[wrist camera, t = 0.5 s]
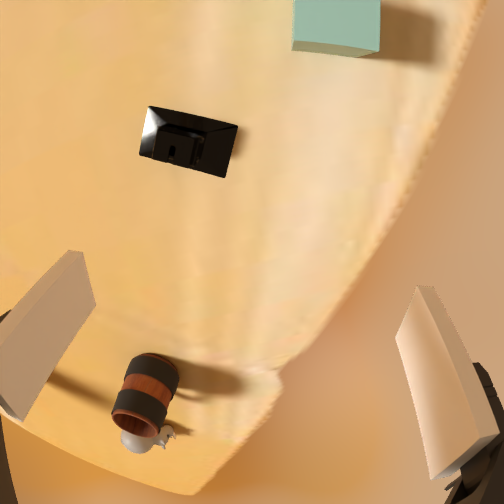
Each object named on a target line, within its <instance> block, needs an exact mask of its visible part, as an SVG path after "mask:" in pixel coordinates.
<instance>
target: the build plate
mask: <svg viewBox="0 0 504 504" xmlns="http://www.w3.org/2000/svg"><path fill="white" fill-rule="evenodd" d="M237 129H238V126H237V125H234V124H230V123H226V122H222V121H218V120H214V119H210V118H206V117H202V116H197V115H193V114H188V113H184V112H179V111H174V110H169V109H164V108H159V107H154V106H149V107H148V111H147V116H146V120H145V125H144V130H143V135H142V140H141V146H140V151H139V155H140V156H144V157H148V158H152V159H153V160H157V161H161V162H165V163H167V162H168V163H171V164H173V165H177V166H181V167H185V168H190V169H193V170H197V171H201V172H204V173H208V174H211V175H215V176H218V177H222V178H225V177H226V173H227V169H228V164H229V160H230V156H231V153H232V149H233V145H234V141H235V137H236V133H237Z"/></svg>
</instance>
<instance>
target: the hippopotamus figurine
mask: <svg viewBox="0 0 504 504" xmlns="http://www.w3.org/2000/svg"><path fill="white" fill-rule="evenodd" d="M172 436H173V437H174V439H176V434H175V433H174V430H173V428H172V427H171V426H170V425H164V426H163V427H161V431H160V433H159V434H158V435H157V436H156V437H153V438H144V437H140V436H136V435H133V434H131V433H129V432H127V431H125V430H122V432H121V442H122V444H123V445H124V446H125V447H126V448H127V449H128V450H129V451H131V452H133V453H138V454H141V453H145V452H147V451H149V450H150V449H151V448H152V446H153V445H154V444H156V445H159V446H162V448H163V449H165V445H166V443H167V442H168V440H169V437H171V438H172Z"/></svg>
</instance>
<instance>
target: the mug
mask: <svg viewBox="0 0 504 504" xmlns="http://www.w3.org/2000/svg"><path fill="white" fill-rule="evenodd" d="M178 383H179V376H178V373H177V370H176V369H175V367H174V366H173V365H172V364H171V363H170V362H169V361H167V360H166V359H164V358H162V357H159V356H157V355H153V354H141V355H139V356H137V357H134V358H133V359H132V360H131V362H130V364H129V366H128V369H127V371H126V374H125V377H124V384H123V386H122V389H121V391H120V392H119V393H118V396H117V399H116V402H115V405H114V408H113V410H112V413H111V415H112V419H113V421H114V422H115V424H116V425H118V426H119V427H120V428H122V429H123V430H125V431H127V432H129V433H131V434H133V435H136V436H140V437H144V438H153V437H156V436H157V435H158V434H159V433H160V431H161V427H162V425H163V422H164V420H165V417H166V415H167V408H168V406H169V403H170V401H171V400H172V399H173V396H174V394H175V391H176V389H177V386H178Z"/></svg>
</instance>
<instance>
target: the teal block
mask: <svg viewBox="0 0 504 504" xmlns="http://www.w3.org/2000/svg"><path fill="white" fill-rule="evenodd" d="M379 45H380V0H293V20H292V50H291V51H304V52H315V53H324V54H332V55H340V56H347V57H354V58H357V57H360V56H364V55H368V54H372V53H376V52H379Z"/></svg>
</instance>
